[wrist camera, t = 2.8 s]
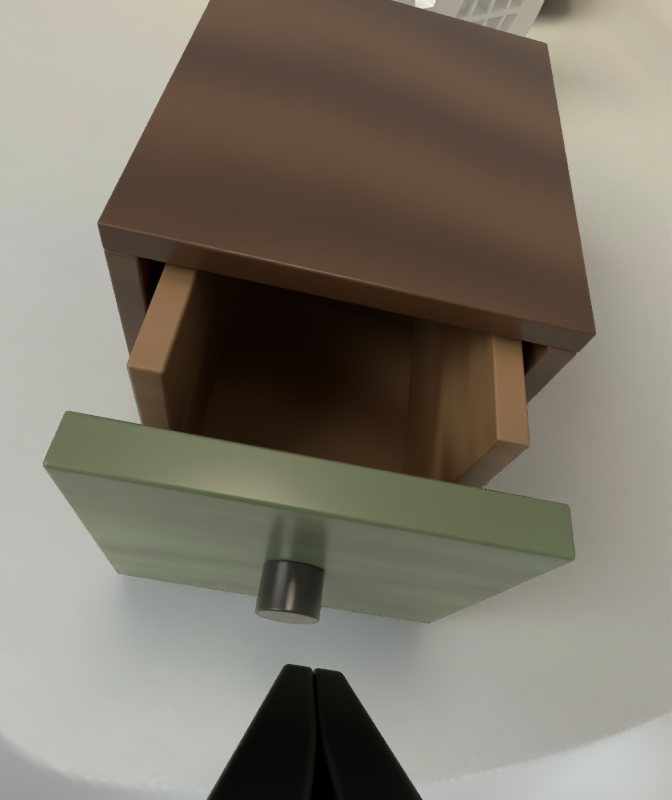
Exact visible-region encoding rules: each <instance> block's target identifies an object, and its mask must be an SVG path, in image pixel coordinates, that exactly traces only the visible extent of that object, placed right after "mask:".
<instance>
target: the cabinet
mask: <svg viewBox="0 0 672 800" xmlns="http://www.w3.org/2000/svg"><path fill="white" fill-rule="evenodd" d="M97 224H98V229H99V233H100V237H101V241H102V245H103V248H104V252H105V257H106V261H107V265H108V269H109V273H110V277H111V281H112V285H113V290H114V294H115V298H116V302H117V306H118V310H119V314H120V318H121V323H122V327H123V331H124V335H125V339H126V343H127V347H128V352H129V356H130V355H131V352H132V350H133V347H134V345H135V342H136V339H137V337H138V334H139V332H140V329H141V327H142V324H143V321H144V319H145V316H146V314H147V311H148V308H149V306H150V303H151V301H152V298H153V296H154V293H155V290H156V288H157V285H158V283H159V280H160V278H161V275H162V272H163V270H164V267H165V265H166V263H170V264H174V265H179V266H183V267H188V268H193V269H197V270H202V271H206V272H211V273H216V274H220V275H225V276H229V277H234V278H238V279H243V280H248V281H252V282H257V283H261V284H266V285H270V286H275V287H280V288H284V289H289V290H293V291H298V292H302V293H307V294H312V295H316V296H321V297H325V298H330V299H334V300H339V301H344V302H348V303H353V304H357V305H362V306H366V307H371V308H376V309H380V310H385V311H389V312H394V313H399V314H403V315H408V316H412V317H417V318H421V319H426V320H431V321H435V322H440V323H444V324H449V325H453V326H458V327H463V328H467V329H472V330H476V331H481V332H485V333H490V334H495V335H499V336H504V337H508V338H513V339H517V340H522V352H523V365H524V378H525V390H526V403H528V402H529V401H530V400H531V399H532V398H533V397H534V396H535V395H536V394H537V393H538V392H539V391H540V390H541V389H542V388H543V387H544V386H545V385H546V384H547V383H548V382H549V381H550V380H551V379H552V378H553V377H554V376H555V375H556V374H557V373H558V372H559V371H560V370H561V369H562V368H563V367H564V366H565V365H566V364H567V363H568V362H569V361H570V360H571V359H572V358H573V357H574V356H575V355H576V353H577V352H579V351H580V350H581V349H582V348H583V347H584V346H585V345H586V344H587V343H588V342H589V341H590V340H591V339H592V338H593V337H594V336H595V335H596V330H595V324H594V318H593V312H592V306H591V300H590V294H589V288H588V283H587V277H586V271H585V265H584V259H583V253H582V247H581V241H580V235H579V229H578V223H577V218H576V212H575V206H574V200H573V194H572V188H571V182H570V176H569V170H568V164H567V158H566V153H565V147H564V141H563V135H562V129H561V123H560V117H559V111H558V105H557V99H556V94H555V88H554V82H553V76H552V70H551V64H550V58H549V52H548V46H547V44H546V43H544V42H540V41H536V40H533V39H529V38H526V37H522V36H518V35H515V34H511V33H508V32H504V31H500V30H497V29H493V28H490V27H486V26H482V25H479V24H475V23H472V22H468V21H465V20H461V19H457V18H454V17H450V16H447V15H443V14H439V13H436V12H432V11H429V10H425V9H421V8H418V7H414V6H411V5H407V4H403V3H400V2H396V1H393V0H210V1H209V3H208V5H207V7H206V9H205V11H204V13H203V15H202V17H201V19H200V21H199V23H198V25H197V27H196V29H195V31H194V33H193V35H192V37H191V39H190V41H189V43H188V45H187V47H186V49H185V51H184V53H183V55H182V57H181V59H180V61H179V63H178V64H177V66H176V68H175V70H174V72H173V74H172V76H171V78H170V80H169V82H168V84H167V86H166V88H165V90H164V92H163V94H162V96H161V98H160V100H159V102H158V104H157V106H156V108H155V110H154V112H153V114H152V116H151V118H150V120H149V122H148V124H147V126H146V128H145V130H144V132H143V134H142V136H141V138H140V140H139V141H138V143H137V145H136V147H135V149H134V151H133V153H132V155H131V157H130V159H129V161H128V163H127V165H126V167H125V169H124V171H123V173H122V175H121V177H120V179H119V181H118V183H117V185H116V187H115V189H114V191H113V193H112V195H111V197H110V199H109V201H108V203H107V205H106V207H105V209H104V211H103V213H102V215H101V217H100V218H99V220H98V223H97Z"/></svg>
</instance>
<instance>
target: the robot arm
mask: <svg viewBox="0 0 672 800" xmlns="http://www.w3.org/2000/svg"><path fill="white" fill-rule="evenodd" d="M207 800H422V798H421V797H420V795H419V793H418V792H417V790H416V789H415V787H414V785H413V784H412V782H411V781H410V779H409V778H408V776H407V774H406V773H405V771H404V770H403V768H402V767H401V765H400V763H399V762H398V760H397V759H396V757H395V756H394V754H393V752H392V751H391V749H390V748H389V746H388V745H387V743H386V741H385V740H384V738H383V737H382V735H381V733H380V732H379V730H378V729H377V727H376V726H375V724H374V722H373V721H372V719H371V718H370V716H369V715H368V713H367V711H366V710H365V708H364V707H363V705H362V704H361V702H360V700H359V699H358V697H357V696H356V694H355V693H354V691H353V689H352V688H351V686H350V685H349V683H348V681H347V680H346V678H345V677H344V675H343V674H342V673H341V672H338V671H333V670H326V669H319V668H317V669H315V670H314V671H312V669H311V668H310V667H306V666H299V665H292V664H287V665H285V666H284V667H283V668H282V670H281V672H280V674H279V675H278V677H277V679H276V680H275V682H274V684H273V686H272V687H271V689H270V691H269V693H268V694H267V696H266V698H265V700H264V701H263V703H262V705H261V706H260V708H259V710H258V712H257V713H256V715H255V717H254V719H253V720H252V722H251V724H250V725H249V727H248V729H247V731H246V732H245V734H244V736H243V738H242V739H241V741H240V743H239V745H238V746H237V748H236V750H235V751H234V753H233V755H232V757H231V758H230V760H229V762H228V764H227V765H226V767H225V769H224V771H223V772H222V774H221V776H220V777H219V779H218V781H217V783H216V784H215V786H214V788H213V790H212V791H211V793H210V795H209V796H208V798H207Z"/></svg>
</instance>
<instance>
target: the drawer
mask: <svg viewBox="0 0 672 800" xmlns="http://www.w3.org/2000/svg"><path fill="white" fill-rule="evenodd" d="M127 369H128V373H129V377H130V381H131V385H132V389H133V393H134V396H135V400H136V404H137V408H138V412H139V416H140V420H141V424H142V425H141V424H136V423H130V422H125V421H120V420H114V419H109V418H104V417H98V416H93V415H88V414H83V413H77V412H72V411H66V412H65V413H64V415H63V418H62V420H61V422H60V425H59V427H58V429H57V431H56V434H55V436H54V438H53V441H52V443H51V445H50V448H49V450H48V452H47V454H46V457H45V459H44V461H43V467H44V468H45V470H46V471H47V472H48V474H49V475H50V477H51V478H52V480H53V481H54V482H55V484H56V485H57V487H58V488H59V490H60V491H61V493H62V494H63V495H64V497H65V498H66V500H67V501H68V503H69V504H70V506H71V507H72V508H73V510H74V511H75V513H76V514H77V516H78V517H79V519H80V520H81V521H82V523H83V524H84V526H85V527H86V529H87V530H88V531H89V533H90V534H91V536H92V537H93V539H94V540H95V542H96V543H97V544H98V546H99V547H100V549H101V550H102V552H103V553H104V555H105V556H106V557H107V559H108V560H109V562H110V563H111V565H112V566H113V568H114V569H115V570H116V572H117V573H118V574H123V575H129V576H136V577H142V578H148V579H154V580H161V581H167V582H173V583H179V584H186V585H192V586H198V587H204V588H211V589H217V590H223V591H229V592H236V593H242V594H248V595H254V596H258V597H257V602H256V608H255V613H256V614H257V615H259V616H260V617H263V618H266V619H270V620H274V621H279V622H285V623H293V624H314V623H317V622H318V621H319V617H320V609H321V606H323V607H329V608H335V609H342V610H348V611H354V612H360V613H367V614H373V615H379V616H385V617H392V618H398V619H404V620H410V621H417V622H423V623H431V622H434V621H436V620H438V619H440V618H443V617H445V616H447V615H450V614H452V613H454V612H456V611H459V610H461V609H463V608H466V607H468V606H470V605H472V604H475V603H477V602H479V601H482V600H484V599H486V598H488V597H491V596H493V595H495V594H497V593H500V592H502V591H504V590H507V589H509V588H511V587H513V586H516V585H518V584H520V583H523V582H525V581H527V580H529V579H532V578H534V577H536V576H539V575H541V574H543V573H545V572H548V571H550V570H552V569H555V568H557V567H559V566H561V565H564V564H566V563H568V562H571V561H573V560H574V559H575V549H574V541H573V532H572V523H571V514H570V507H569V506H568V505H567V504H561V503H556V502H551V501H545V500H540V499H535V498H529V497H524V496H519V495H513V494H508V493H503V492H497V491H492V490H487V489H481V488H482V487H483V486H484V485H485V484H486V483H487V482H489V481H490V480H491V479H492V478H493V477H494V476H495V475H497V474H498V473H499V472H500V471H501V470H502V469H504V468H505V467H506V466H507V465H508V464H509V463H510V462H512V461H513V460H514V459H515V458H516V457H517V456H519V455H520V454H521V453H522V452H523V451H524V450H526V449H527V448H528V447H529V445H530V442H529V429H528V416H527V403H526V390H525V378H524V365H523V352H522V340H517V339H513V338H508V337H504V336H499V335H495V334H490V333H485V332H481V331H476V330H472V329H467V328H463V327H458V326H453V325H449V324H444V323H440V322H435V321H431V320H426V319H421V318H417V317H412V316H408V315H403V314H399V313H394V312H389V311H385V310H380V309H376V308H371V307H366V306H362V305H357V304H353V303H348V302H344V301H339V300H334V299H330V298H325V297H321V296H316V295H312V294H307V293H302V292H298V291H293V290H289V289H284V288H280V287H275V286H270V285H266V284H261V283H257V282H252V281H248V280H243V279H238V278H234V277H229V276H225V275H220V274H216V273H211V272H206V271H202V270H197V269H193V268H188V267H183V266H179V265H174V264H170V263H166V265H165V267H164V270H163V272H162V275H161V278H160V280H159V283H158V285H157V288H156V290H155V293H154V296H153V298H152V301H151V303H150V306H149V308H148V311H147V314H146V316H145V319H144V321H143V324H142V327H141V329H140V332H139V334H138V337H137V339H136V342H135V345H134V347H133V350H132V352H131V355H130V357H129V360H128V363H127Z"/></svg>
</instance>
